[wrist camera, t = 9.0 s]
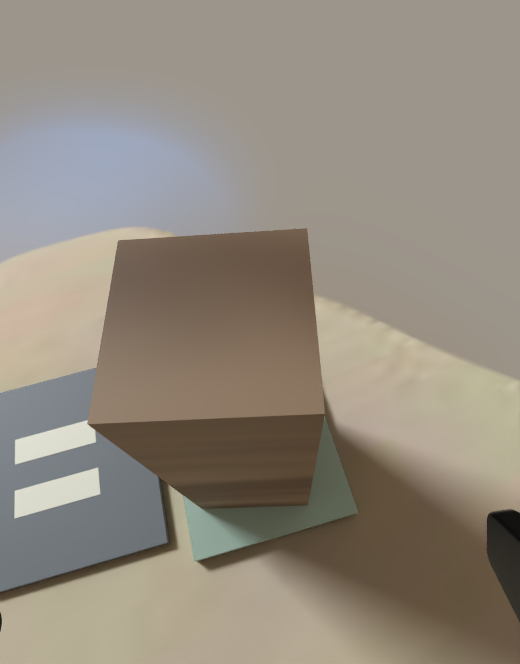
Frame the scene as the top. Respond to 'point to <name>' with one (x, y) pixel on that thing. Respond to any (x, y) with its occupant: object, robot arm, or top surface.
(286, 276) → the walnut block
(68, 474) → the card
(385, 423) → the top surface
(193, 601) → the top surface
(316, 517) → the sage board
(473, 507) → the top surface
